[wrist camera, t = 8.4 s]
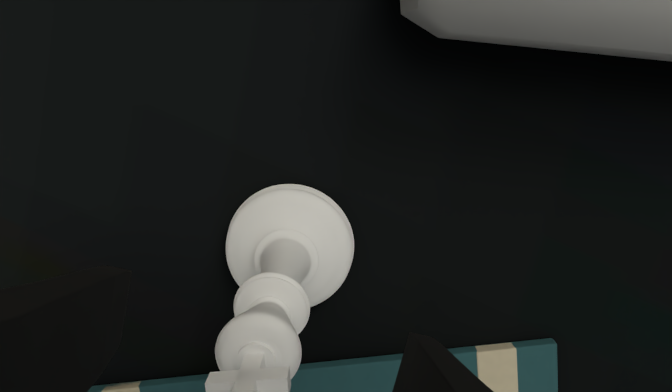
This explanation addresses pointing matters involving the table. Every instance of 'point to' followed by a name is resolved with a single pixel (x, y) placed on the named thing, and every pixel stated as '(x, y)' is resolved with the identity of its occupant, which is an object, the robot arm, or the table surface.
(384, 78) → the table surface
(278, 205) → the chess piece
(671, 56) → the tube
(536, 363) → the towel
